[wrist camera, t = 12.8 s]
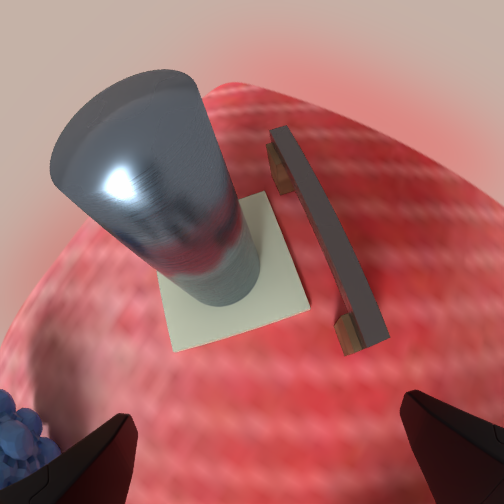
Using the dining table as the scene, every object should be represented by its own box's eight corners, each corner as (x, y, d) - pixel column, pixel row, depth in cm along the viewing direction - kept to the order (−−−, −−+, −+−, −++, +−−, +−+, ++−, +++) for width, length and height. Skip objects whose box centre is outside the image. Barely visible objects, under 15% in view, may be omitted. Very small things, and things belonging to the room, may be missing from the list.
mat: (310, 309, 18) (310, 307, 17) (176, 352, 18) (173, 351, 18) (265, 194, 22) (264, 190, 21) (153, 235, 22) (150, 232, 21)
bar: (383, 340, 13) (390, 337, 12) (362, 349, 13) (367, 347, 12) (287, 137, 19) (286, 125, 18) (271, 142, 19) (269, 130, 18)
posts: (374, 343, 16) (390, 337, 13) (344, 356, 16) (354, 352, 13) (295, 167, 22) (293, 136, 19) (271, 175, 22) (265, 144, 19)
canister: (276, 267, 19) (236, 99, 7) (215, 323, 18) (74, 232, 6) (225, 217, 21) (149, 58, 9) (169, 267, 20) (39, 145, 8)
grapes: (125, 487, 15) (1, 532, 4) (83, 513, 13) (-22, 544, 2) (48, 367, 19) (-71, 338, 8) (18, 405, 18) (-86, 390, 7)
